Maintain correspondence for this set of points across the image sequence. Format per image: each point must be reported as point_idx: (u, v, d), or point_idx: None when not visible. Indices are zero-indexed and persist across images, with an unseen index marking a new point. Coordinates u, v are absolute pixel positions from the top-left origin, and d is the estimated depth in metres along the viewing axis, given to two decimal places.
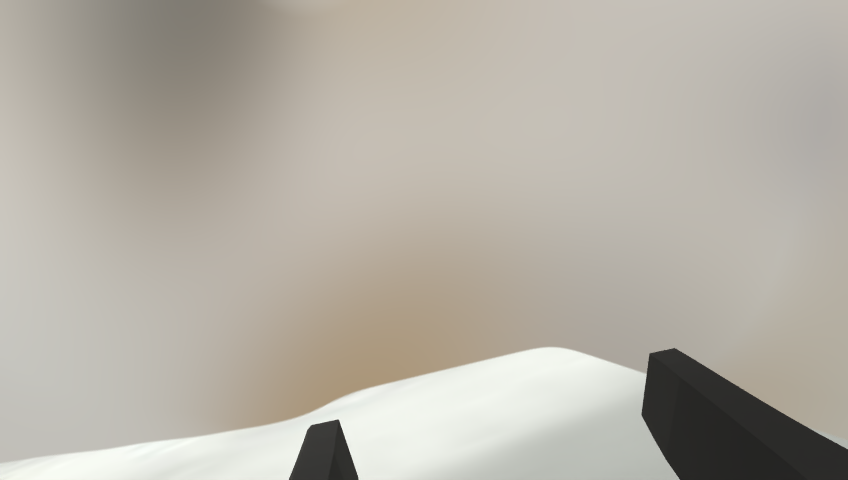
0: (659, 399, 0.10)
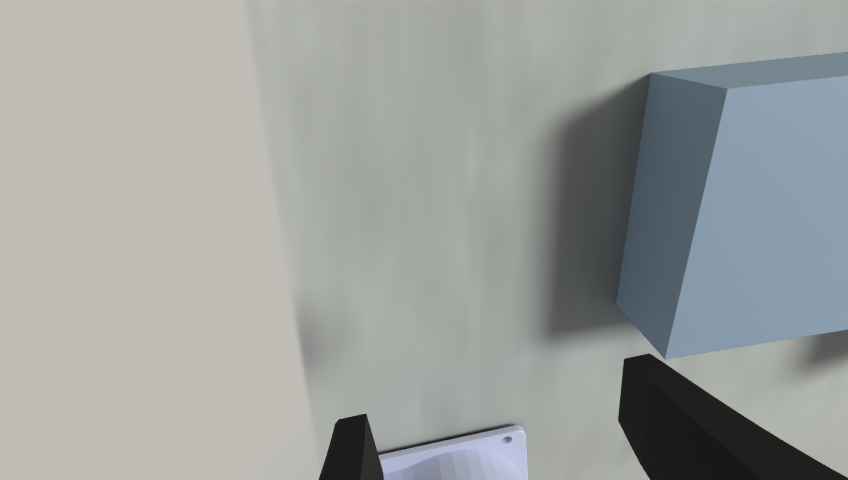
0: (633, 405, 0.10)
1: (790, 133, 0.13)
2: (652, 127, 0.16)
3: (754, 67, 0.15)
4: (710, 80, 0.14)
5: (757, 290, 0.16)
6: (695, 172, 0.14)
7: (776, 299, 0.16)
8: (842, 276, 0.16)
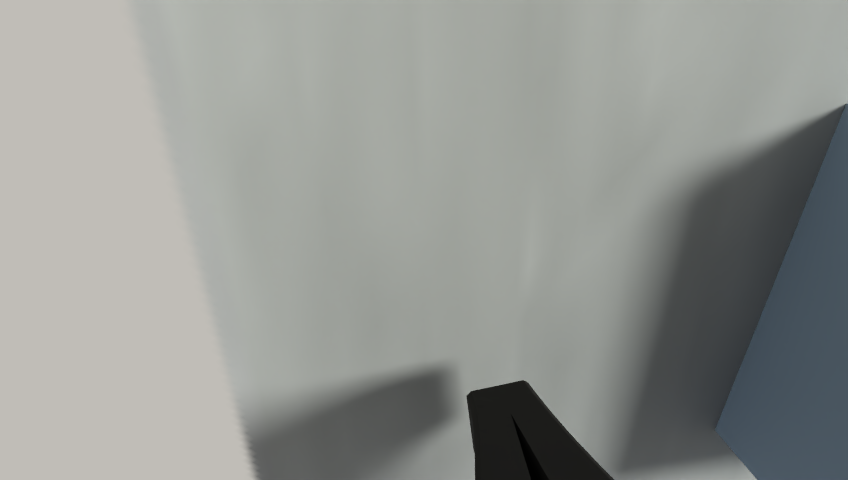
0: None
1: None
2: (839, 193, 0.10)
3: None
4: None
5: None
6: None
7: None
8: None
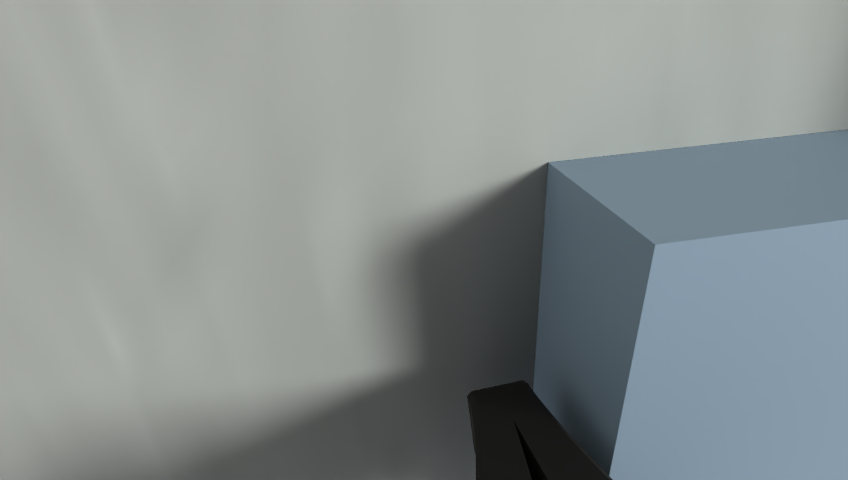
0: None
1: (786, 311, 0.07)
2: (553, 253, 0.09)
3: (722, 161, 0.08)
4: (633, 203, 0.07)
5: None
6: (610, 366, 0.08)
7: None
8: None
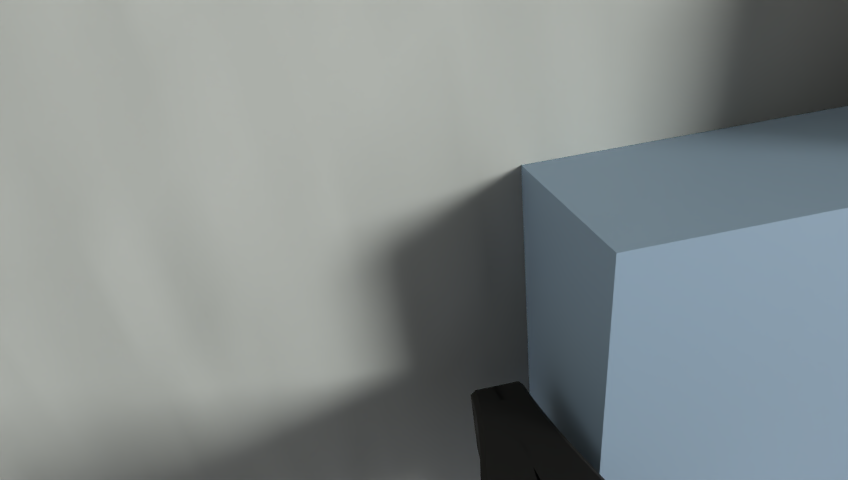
0: None
1: (765, 310, 0.07)
2: (534, 256, 0.09)
3: (700, 154, 0.08)
4: (601, 207, 0.07)
5: None
6: (590, 373, 0.07)
7: None
8: None
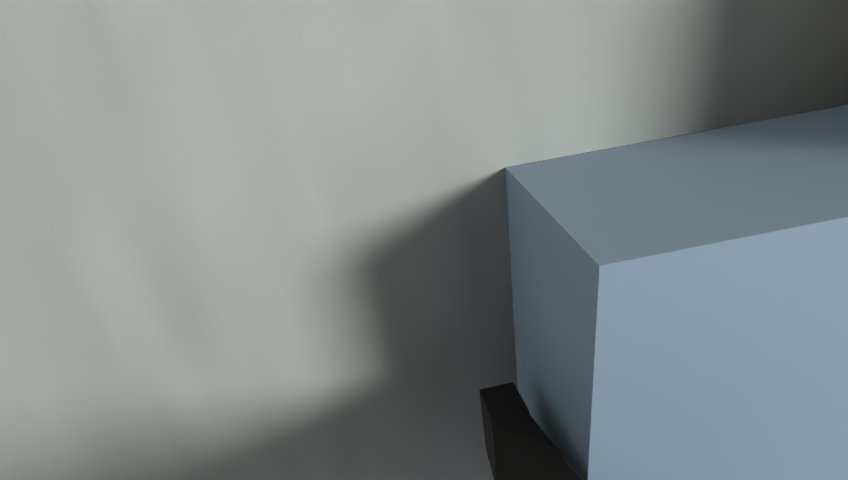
0: (488, 436, 0.10)
1: (756, 322, 0.06)
2: (523, 265, 0.09)
3: (691, 159, 0.08)
4: (586, 216, 0.07)
5: None
6: (576, 387, 0.07)
7: None
8: None
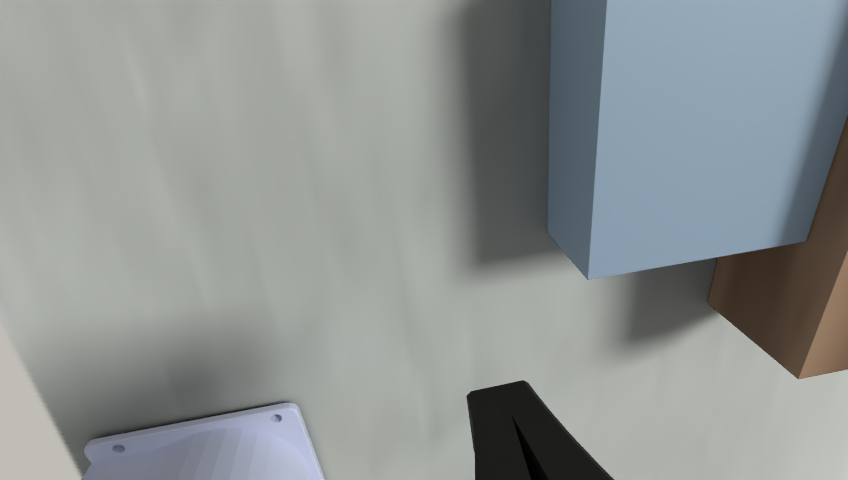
0: None
1: None
2: (558, 11, 0.14)
3: None
4: None
5: (685, 193, 0.14)
6: (594, 45, 0.12)
7: (710, 205, 0.14)
8: (784, 175, 0.14)
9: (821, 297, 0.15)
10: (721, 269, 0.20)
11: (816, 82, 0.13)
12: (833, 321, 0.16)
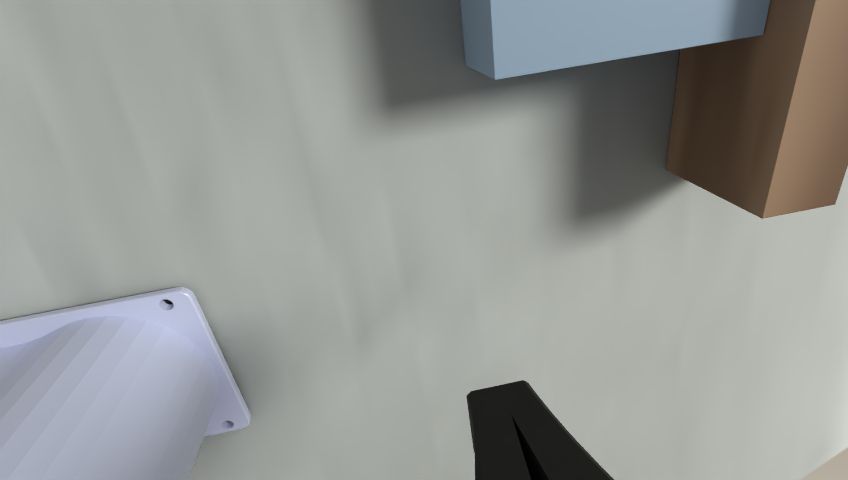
0: None
1: None
2: None
3: None
4: None
5: None
6: None
7: None
8: None
9: (783, 99, 0.13)
10: (677, 120, 0.17)
11: None
12: (799, 132, 0.13)
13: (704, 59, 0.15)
